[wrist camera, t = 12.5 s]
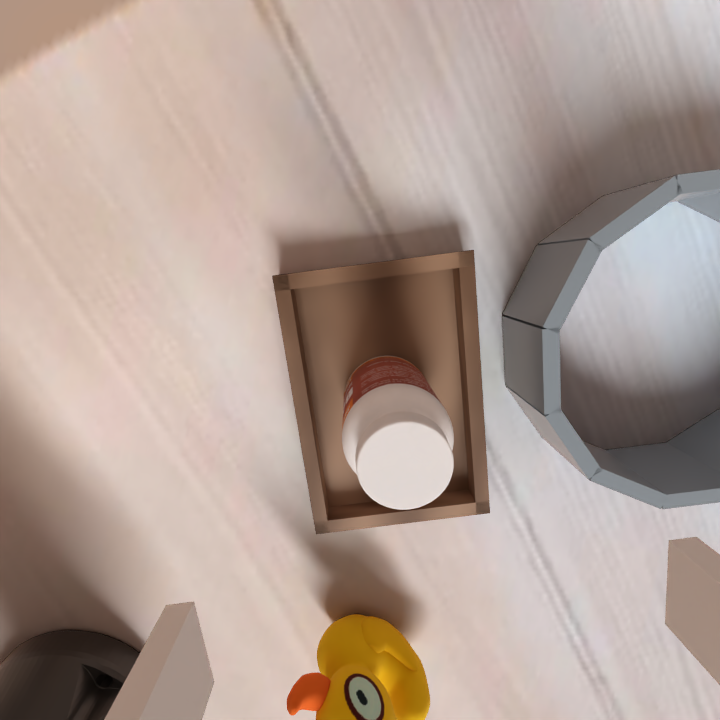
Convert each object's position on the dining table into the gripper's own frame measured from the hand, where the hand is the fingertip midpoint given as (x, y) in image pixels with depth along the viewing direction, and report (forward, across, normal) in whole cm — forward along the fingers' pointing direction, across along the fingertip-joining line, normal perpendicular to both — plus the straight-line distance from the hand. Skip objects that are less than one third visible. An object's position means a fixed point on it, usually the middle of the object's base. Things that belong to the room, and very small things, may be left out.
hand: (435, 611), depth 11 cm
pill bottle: (+20, 0, 0) cm, 20 cm away
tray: (+20, 0, 0) cm, 20 cm away
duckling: (+20, -4, -21) cm, 29 cm away
